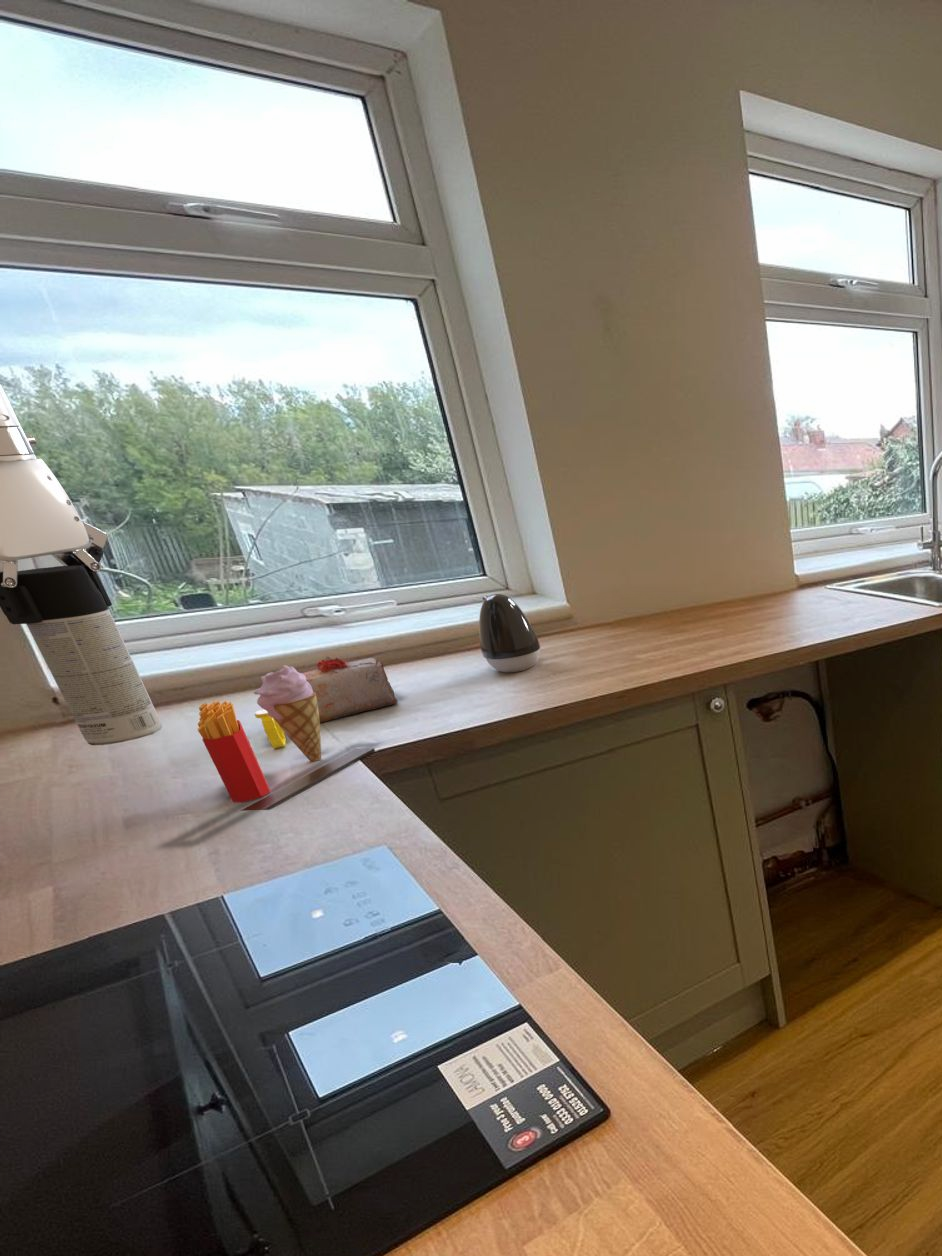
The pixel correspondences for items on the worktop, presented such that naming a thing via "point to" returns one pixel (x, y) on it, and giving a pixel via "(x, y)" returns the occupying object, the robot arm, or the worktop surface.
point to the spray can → (88, 656)
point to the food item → (349, 687)
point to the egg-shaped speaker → (506, 635)
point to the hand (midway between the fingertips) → (63, 613)
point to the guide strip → (309, 780)
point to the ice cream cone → (293, 708)
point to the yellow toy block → (271, 729)
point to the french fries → (231, 752)
